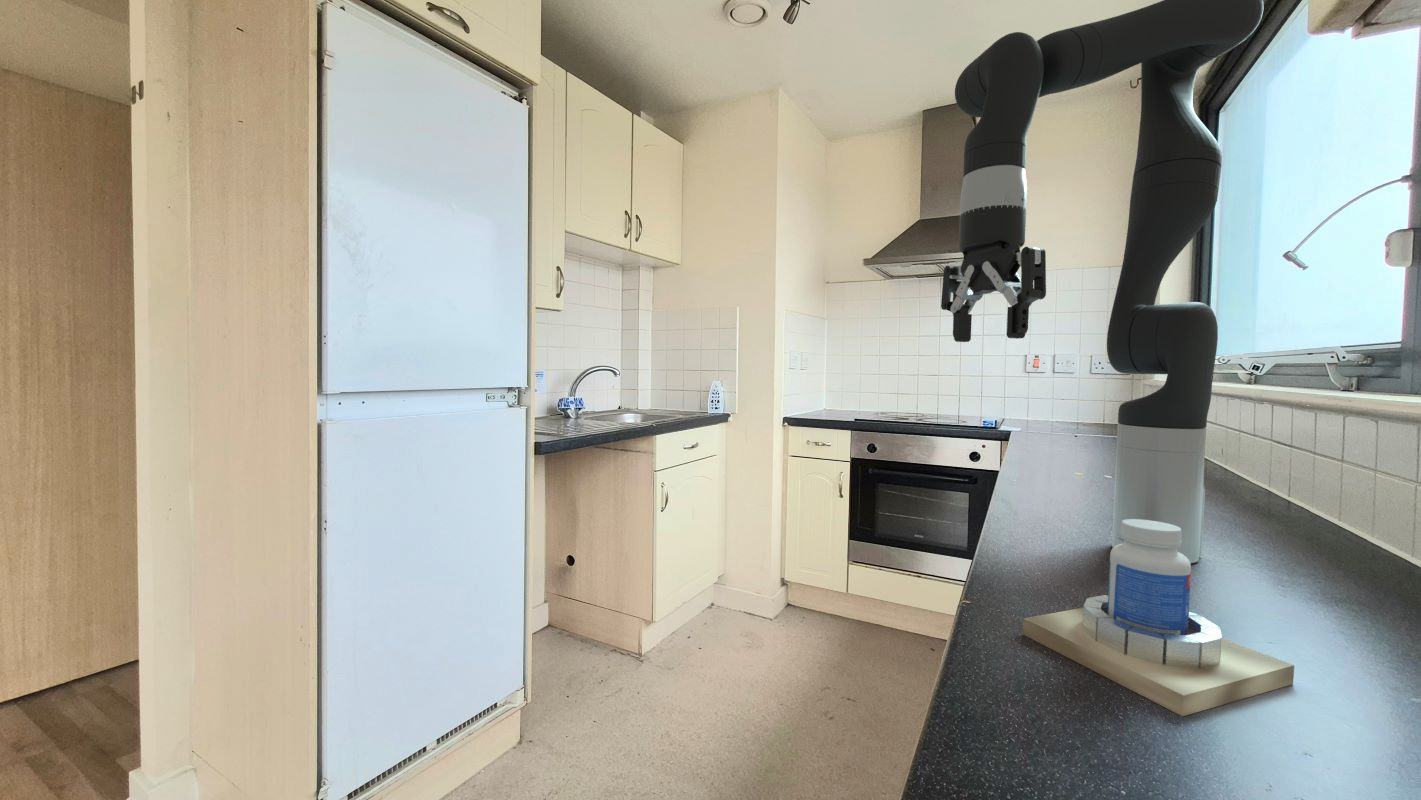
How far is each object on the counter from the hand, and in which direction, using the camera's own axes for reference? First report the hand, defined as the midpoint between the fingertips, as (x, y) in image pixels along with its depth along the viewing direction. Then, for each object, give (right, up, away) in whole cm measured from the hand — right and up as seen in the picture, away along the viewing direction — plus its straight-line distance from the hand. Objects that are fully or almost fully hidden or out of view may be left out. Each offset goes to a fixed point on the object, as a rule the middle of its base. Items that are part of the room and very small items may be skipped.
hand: (987, 340), depth 72 cm
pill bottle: (+1, -28, -24) cm, 37 cm away
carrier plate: (+1, -29, -24) cm, 38 cm away
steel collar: (+1, -28, -25) cm, 37 cm away
